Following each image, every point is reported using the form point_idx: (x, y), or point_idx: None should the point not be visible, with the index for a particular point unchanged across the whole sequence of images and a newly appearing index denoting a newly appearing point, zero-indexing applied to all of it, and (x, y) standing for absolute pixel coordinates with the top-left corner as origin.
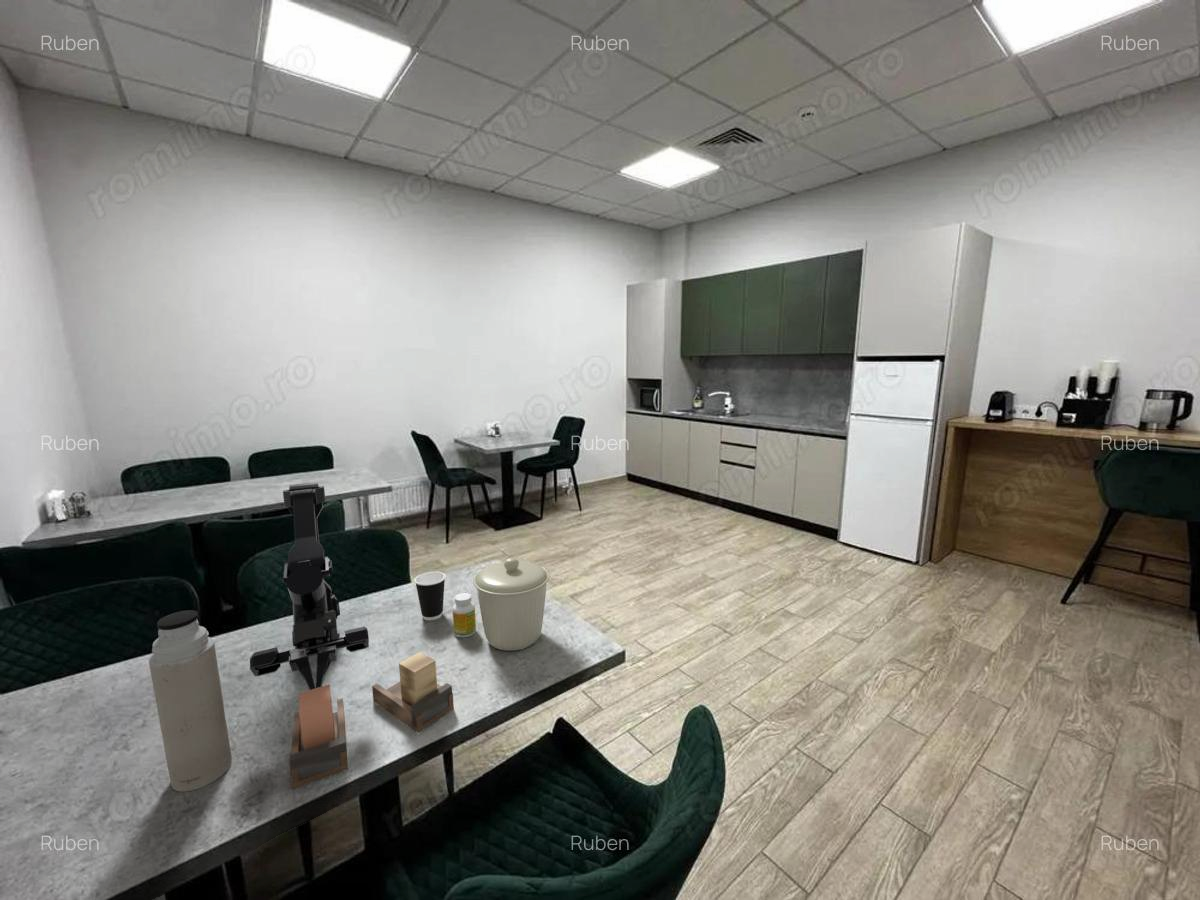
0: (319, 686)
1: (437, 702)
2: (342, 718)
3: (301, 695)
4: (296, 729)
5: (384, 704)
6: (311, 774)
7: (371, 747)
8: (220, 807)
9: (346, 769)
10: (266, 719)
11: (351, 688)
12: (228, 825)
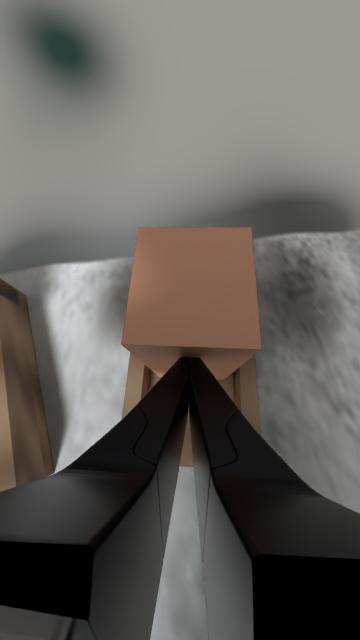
0: (169, 373)
1: None
2: (133, 360)
3: (250, 321)
4: (247, 382)
5: (34, 414)
6: None
7: (106, 304)
8: (351, 294)
9: None
10: None
11: None
12: (324, 252)
